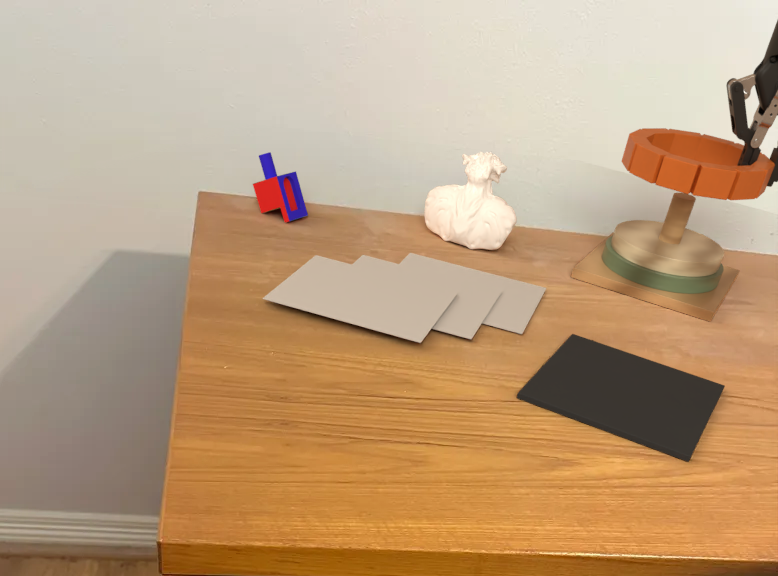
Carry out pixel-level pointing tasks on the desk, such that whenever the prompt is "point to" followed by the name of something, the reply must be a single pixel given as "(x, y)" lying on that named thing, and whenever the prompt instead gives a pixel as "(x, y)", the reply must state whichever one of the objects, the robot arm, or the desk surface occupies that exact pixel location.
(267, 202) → the toy building block
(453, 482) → the desk surface
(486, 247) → the bust
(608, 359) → the mat
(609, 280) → the ring stack
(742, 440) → the desk surface
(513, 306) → the paper stack
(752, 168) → the orange ring
